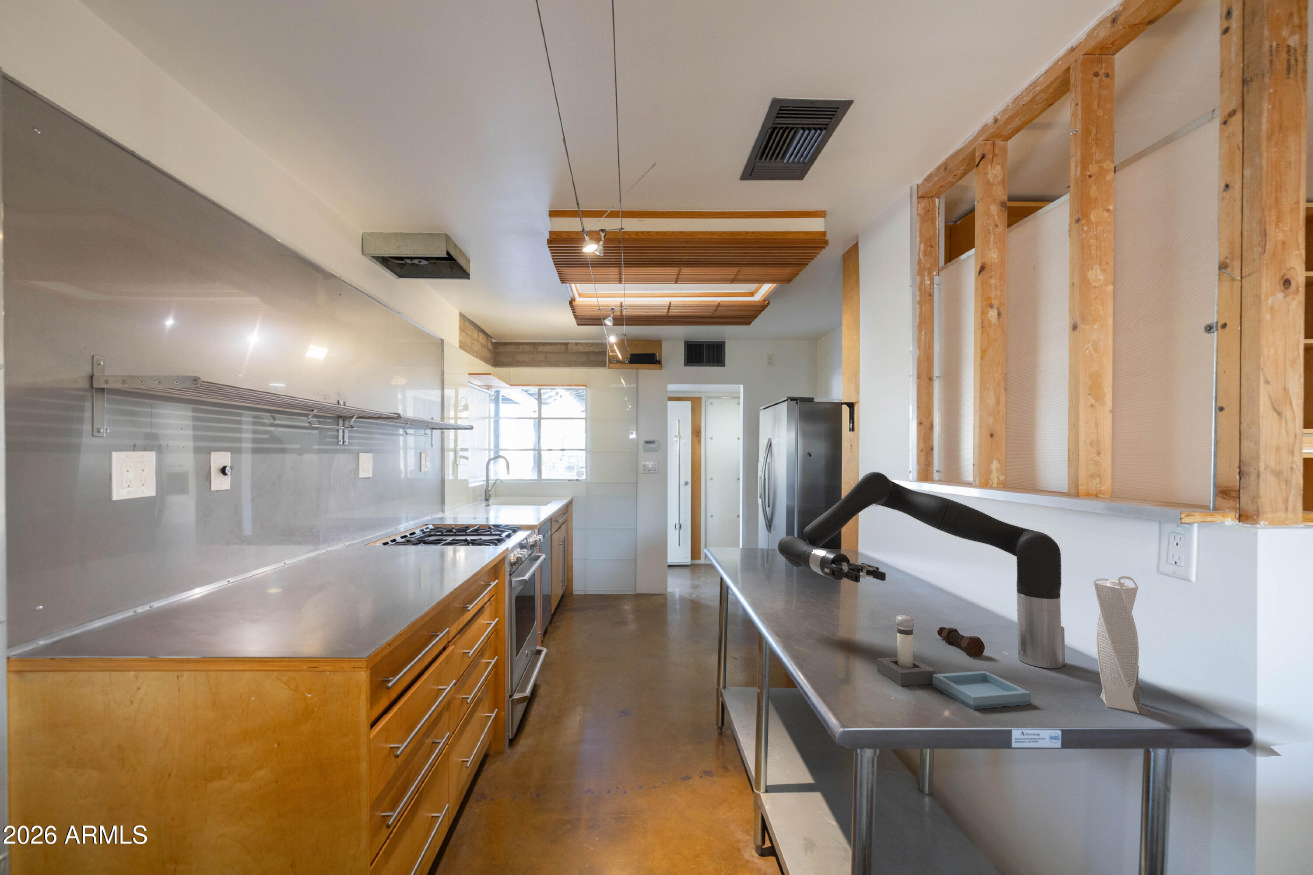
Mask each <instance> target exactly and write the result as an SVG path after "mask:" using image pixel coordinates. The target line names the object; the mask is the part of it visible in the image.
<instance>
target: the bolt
mask: <svg viewBox="0 0 1313 875" xmlns="http://www.w3.org/2000/svg"><path fill="white" fill-rule="evenodd" d="M936 632H937V635H938V636H939V637H940V638H942V640H943V641H944V642H945V643H946V644H947V643H948V645H956V646H958V647H959V648H962V649H963V651H964V653H965V655H966V656H968V657H974V658H975V657H978V658H979V657H981V656H983V654H984V652H985V650H986V645H985V643H984V642H983V640H982V639H981V637H979V636H977V635H969V636H965V635H963V634H961V633H960V632H959V630H958V629H957V628H955V627H945V626H941V627H939V628H938V629H937V631H936Z"/></svg>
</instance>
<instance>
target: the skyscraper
mask: <svg viewBox="0 0 1313 875" xmlns="http://www.w3.org/2000/svg"><path fill="white" fill-rule="evenodd" d="M1124 579H1125V580H1130V581H1132V583H1133V585H1128V584H1125V583H1126V582H1125V581H1123V580H1124ZM1105 581H1106V582H1105ZM1093 587H1094V591H1095V595H1096V598H1097V602H1098V606H1099V611H1098V614H1097V615H1098V616H1097V622H1096V633H1095V634H1096V635H1095V636H1096V637H1095V638H1096V639H1095V640H1096V653H1097V654H1096V655H1097V662H1098V664H1097V665H1098V669H1099V676H1100V677H1099V678H1100V681H1101V682H1100V683H1101V687H1102V691H1101V694H1097V696H1098V698H1099V699H1100V700H1101V702H1102V703H1103V704H1104V705H1105V707H1106V708H1107V709H1111V710H1118V711H1125V712H1129V713H1135V714H1141V715H1147V716H1152V714H1151V713H1150V712H1149V711H1148V710H1147V709H1146V707H1145V706H1144V705H1143V704H1142V702H1141V700H1140V696H1141V694H1140V693H1141V686H1140V684H1139V673H1140V672H1139V671H1140V670H1139V668H1140V666H1139V662H1140V661H1139V658H1140V652H1139V651H1140V647H1139V646H1140V645H1139V636H1138V631H1137V630H1138V629H1137V626H1136V623H1135V619H1134V615H1133V610H1134V606H1135V602H1136V597H1137V594H1138V589H1139V586H1138V583H1137V582H1136V581H1135V580H1134V578H1132V577H1131V576H1126V575H1124V576H1120V577H1117V579H1109V578H1096V579H1094V580H1093Z"/></svg>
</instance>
